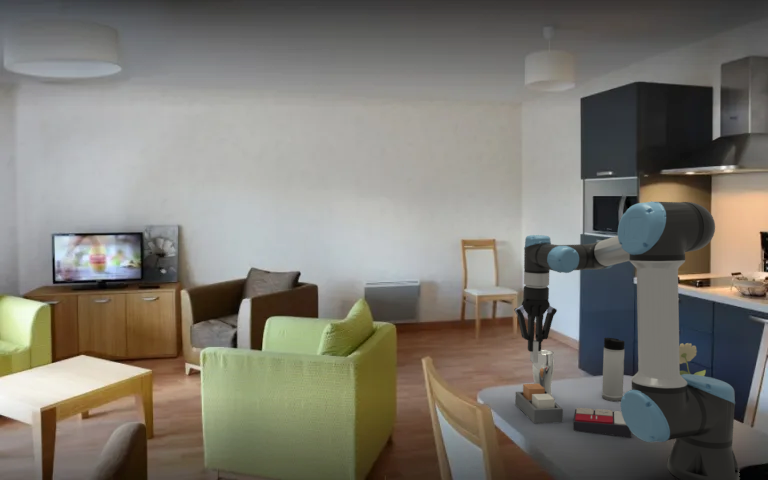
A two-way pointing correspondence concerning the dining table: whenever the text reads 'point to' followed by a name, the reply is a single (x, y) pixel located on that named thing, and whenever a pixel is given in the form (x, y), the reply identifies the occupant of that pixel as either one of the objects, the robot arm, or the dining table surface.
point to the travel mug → (613, 369)
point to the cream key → (543, 401)
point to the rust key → (532, 390)
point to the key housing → (538, 411)
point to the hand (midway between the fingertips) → (533, 361)
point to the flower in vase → (688, 357)
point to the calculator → (601, 422)
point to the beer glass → (544, 370)
